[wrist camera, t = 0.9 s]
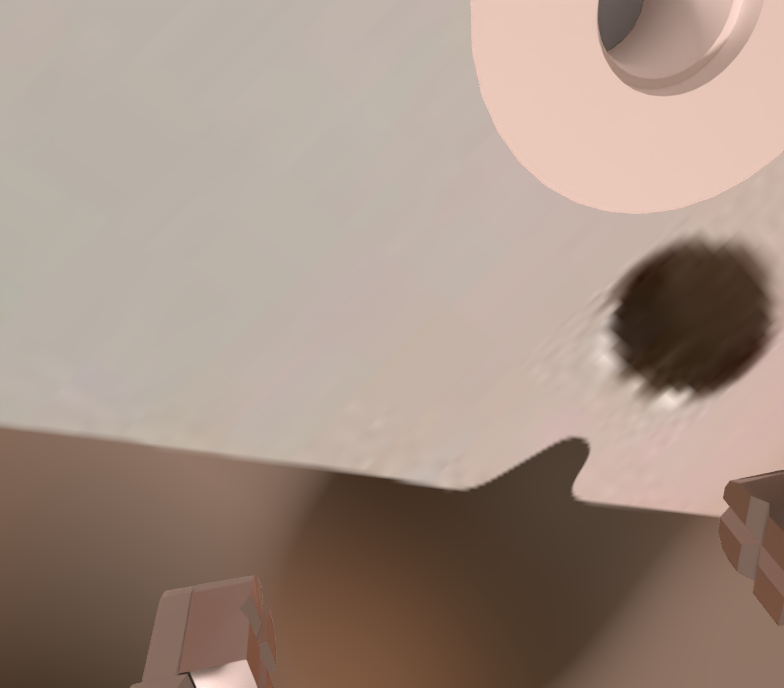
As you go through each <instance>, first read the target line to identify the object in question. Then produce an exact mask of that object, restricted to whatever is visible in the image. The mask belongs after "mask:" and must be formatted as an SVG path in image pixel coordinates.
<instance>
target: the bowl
mask: <svg viewBox="0 0 784 688" xmlns="http://www.w3.org/2000/svg"><path fill="white" fill-rule="evenodd" d="M598 5H599V0H471V29H472V52H473V57H474V62H475V66H476V71H477V76H478V80H479V85H480V90H481V94H482V96H483V99H484V101H485V103H486V106H487V108H488V110H489V113H490V115H491V117H492V120H493V122H494V125H495V127H496V129H497V131H498V133H499V134H500V136H501V137H502V138H503V140H504V141H505V143H506V144H507V146H508V147H509V148H510V150H511V151H512V153H513V154H514V156H515V157H516V158H517V160H518V161H519V162H520V163H521V164H522V165H523V166H524V167H525V168H526V169H527V170H529V171H530V172H531V173H532V174H533V175H534V176H535V177H536V178H537V179H538V180H540V181H541V182H542V183H543V184H544V185H545V186H547V187H549V188H550V189H552V190H554V191H556V192H558V193H559V194H561V195H563V196H565V197H567V198H568V199H570V200H572V201H574V202H576V203H580V204H583V205H586V206H590V207H593V208H597V209H600V210H604V211H607V212H621V213H636V214H644V213H652V212H659V211H666V210H674V209H678V208H681V207H685V206H688V205H691V204H694V203H697V202H700V201H703V200H706V199H709V198H712V197H714V196H716V195H718V194H719V193H721V192H723V191H725V190H727V189H729V188H731V187H733V186H735V185H737V184H738V183H740V182H742V181H744V180H746V179H747V178H749V177H750V176H751V175H753V174H754V173H756V172H757V171H758V170H760V169H761V168H762V167H764V166H765V165H766V164H768V163H769V162H770V161H772V160H773V159H774V158H776V157H777V156H778V155H780V154H781V153H782V152H783V151H784V0H644V3H643V7H642V11H641V13H640V15H639V18H638V20H637V22H636V24H635V26H634V27H633V29H632V30H631V32H630V33H629V34H628V35H627V36H626V38H625V39H624V40H623V41H621V42H620V43H619V44H618V45H617V46H615V47H614V48H612V49H610V50H608V51H606V49H605V47H604V45H603V42H602V39H601V36H600V32H599V24H598Z"/></svg>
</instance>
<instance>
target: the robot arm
mask: <svg viewBox="0 0 784 688" xmlns="http://www.w3.org/2000/svg"><path fill="white" fill-rule="evenodd" d="M723 499H724V500H725V501H726V503H727V504H728V505H729V506H730V507H729V508H728V509H727V510H726V511H725V512H724V514H723V515H722V516H721V517H720V523H719V536H720V540H721V544H722V548H723V550H724V552H725V554H726V556H727V558H728V560H729V562H730V563H731V564H732V565H733V567H734V568H735V569H736V571H737V572H739V573H740V574H742V575H744V576H746V577H748V578H750V579H752V580H754V585H753V593H754V595H755V596H756V598H757V599H758V600H759V602H760V603H761V604H762V605H763V607H764V608H765V609H766V611H767V612H768V613H769V614H770V616H771V617H772V619H774V621H775V622H776V624H777V625H778V626H781V625H784V470H780V471H775V472H770V473H765V474H761V475H756V476H751V477H746V478H741V479H737V480H732V481H729V483H728V484H727V485H726V487H725V490H724V496H723ZM275 667H276V642H275V631H274V626H273V621H272V617H271V614H270V611H269V608H268V607H266V606H264V605H263V604H262V588H261V584H260V582H259V579H258V577H257V576H248V577H242V578H236V579H231V580H225V581H219V582H213V583H207V584H201V585H196V586H192V587H187V588H181V589H175V590H169V591H165V592H164V594H163V596H162V597H161V599H160V601H159V606H158V610H157V615H156V620H155V624H154V629H153V633H152V638H151V642H150V647H149V652H148V657H147V661H146V665H145V670H144V674H143V680H142V683H138V684H134V685H132V686H131V687H130V688H274V686H273V683H272V681H271V678H270V674H271V673H272V671H273V670H274V668H275Z"/></svg>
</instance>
